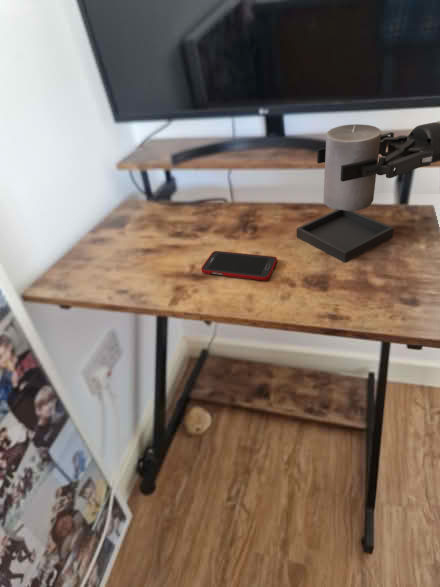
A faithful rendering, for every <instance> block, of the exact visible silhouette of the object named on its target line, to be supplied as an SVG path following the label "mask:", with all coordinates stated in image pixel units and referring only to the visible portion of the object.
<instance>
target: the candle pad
mask: <svg viewBox="0 0 440 587" xmlns="http://www.w3.org/2000/svg"><path fill="white" fill-rule="evenodd" d="M394 229H395V228H394V227H393V226H390V225H388V224H385V223H383V222H381V221H378V220H376V219H373V218H371V217H368V216H366V215H364V214H361V213H359V212H356V211H345V210H335V209H334V210H333V211H331V212H329V213H327V214H324V215H322V216H320V217H318V218H315V219H313V220H311V221H309V222H307V223H305V224H303V225H301V226H298V227H296V238H297V239H300V240H301V241H303V242H305V243H307V244H309V245H310V246H313V247H314V248H316V249H317V250H321V252H324V253H326V254H328V255H329V256H331V257H333V258H334V259H335V258H336V259H337V260H338V261H341V262H342V263H346V262H348V261H350V260H352V259H354V258H356V257H358V256H360V255H362V254H363V253H366V252H367V251H369V250H371V249H373V248H374V247H376V246H379V245H380V244H382V243H384V242H387V241H388V240H390V239H391V238H393V236H394Z"/></svg>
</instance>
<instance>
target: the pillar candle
mask: <svg viewBox="0 0 440 587" xmlns="http://www.w3.org/2000/svg"><path fill="white" fill-rule="evenodd" d="M381 134H382V130H381V129H380V128H379V127H376V126H374V125H370V124H359V123H358V124H357V123H355V124H343V125H338V126H335V127H333V128H330V129H329V130H328V131H327V132H326V137H325V147H326V156H325V162H324V178H323V179H324V180H323V181H324V182H323V204H324V205H325V206H326V207H328V208H329V209H331V210H334V211H335V210H345V211H354V212H356V211H362V210H365V209H367V208H368V207H370V206H371V205H372V203H373V202H374V197H375V190H376V180H377V174H375V175H371V176H366V177H362V178H357V179H352V180H348V181H343V182H342V181H341V180H340V178H341V166H342V165H347V164H352V163H357V162H361V161H366V160H371V159H376V160H377V163H379V155H380V154H379V147H380V137H381Z"/></svg>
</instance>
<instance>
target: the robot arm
mask: <svg viewBox="0 0 440 587" xmlns="http://www.w3.org/2000/svg"><path fill="white" fill-rule="evenodd" d="M379 155H380V156H379ZM379 155H378V163H377V160H376V159H371V160H366V161H361V162H357V163H352V164H347V165H342V166H341V178H340V180H341V181H342V182H343V181H348V180H352V179H357V178H362V177H366V176H371V175H375V174H376V176H383V175H384V176H385V178H386V179H393V178H395V177H397V176H401V175H404V174H406V173H409V172H411V171H413V170H416V169H419V168H423V167H424V168H425V167H430V166H431V165H432V164H434V163H438V162H440V120H438V121H435V122H429V123H423V124H419V125H416V126H415V127H414V128H413V129H412V130H411V132H410V133H409V134H408V135H398V136H395V133H394V132H391V131H390V132H385V133H381V137H380V147H379ZM316 156H317V157H316V163H317V164H318V165H319V164H325V156H326V146H325V147H321V148H317V151H316Z"/></svg>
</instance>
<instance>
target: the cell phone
mask: <svg viewBox="0 0 440 587" xmlns="http://www.w3.org/2000/svg"><path fill="white" fill-rule="evenodd" d="M277 263H278V258H277V257H276V256H271V255H261V254H254V253H253V254H252V253H243V252H233V251H222V250H214V251H213V252H211V254H210V255H209V256H208V258H207V259H206V261H205V262H204V263H203V265H201V266H202V267H201V269H200V270H201V273H202V274H207V275H218V276H223V277H230V278H231V277H232V278H238V279H239V278H240V279H247V280H255V281H268V280H269V279H270V278H271V277H272V274H273V270H274V269H275V267H276V265H277Z"/></svg>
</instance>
